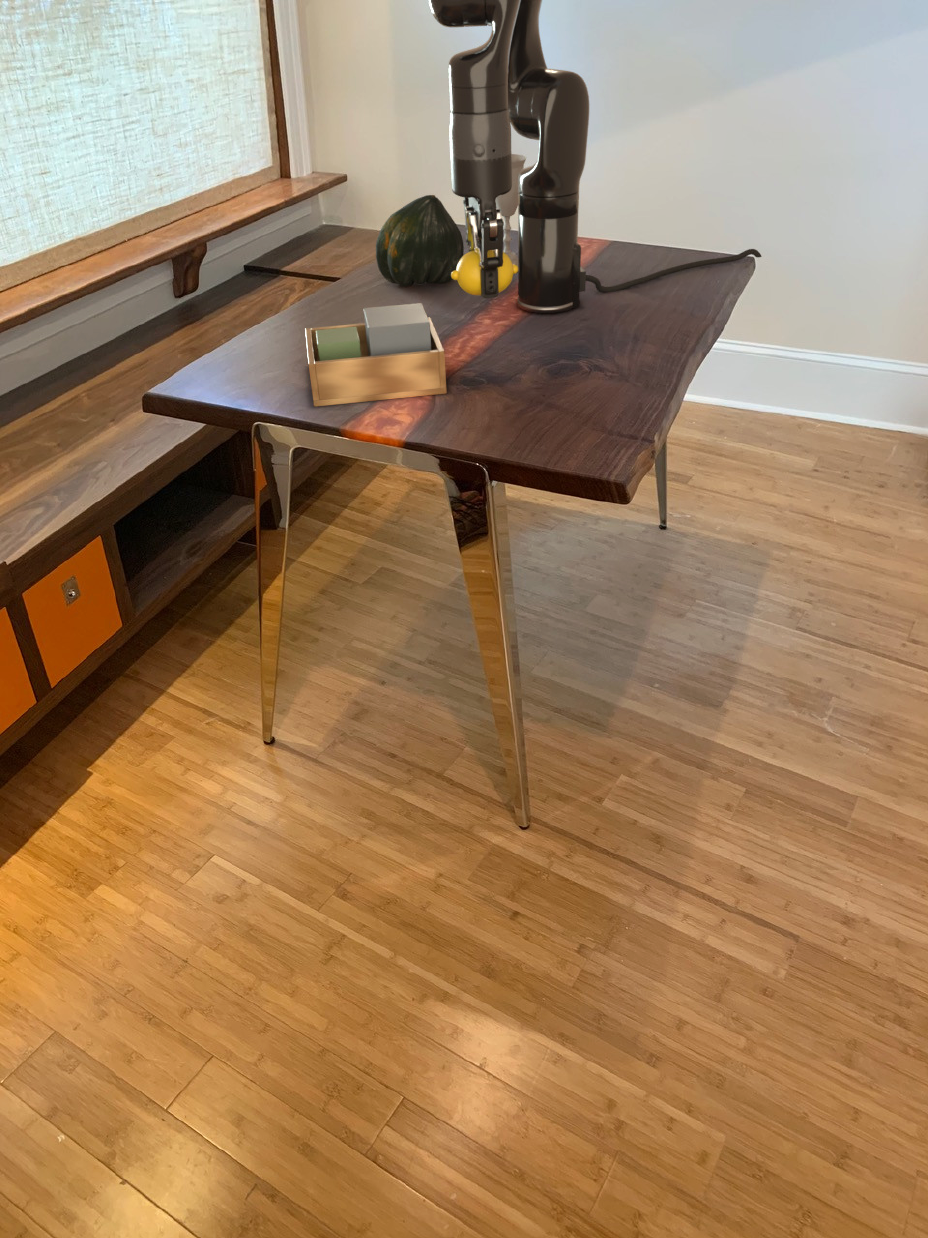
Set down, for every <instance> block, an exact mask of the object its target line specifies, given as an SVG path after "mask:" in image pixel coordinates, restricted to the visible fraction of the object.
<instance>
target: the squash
mask: <svg viewBox="0 0 928 1238" xmlns="http://www.w3.org/2000/svg"><path fill="white" fill-rule="evenodd" d="M464 249H465V248H464V238H463V235H462V232H461V230H460V229H459V227H458V225H457V223H456V222H455V220H454V218H453V217H452V216H451V214H450V213H449V212H448V210H447V209H446V208H445V206H444V204H443V202H442V201H441V200H440V199H439V198H438V197H437V196H436V195H435V194H427V195H422V196H421V197H418V198H415V199H413V200H412V201H410V202H408V203H407V204H405V205H404V206H402V207H401V208H399V209H397V210H396V211H395V212H393V213H392V214H391V215H389V217H388V218H387V220H386V221H385V222H384V224H383V225H382V227H381V228H380V231H379V234H378V235H377V239H376V242H375V258H376V264H377V265H376V266H377V268H378V271H379V272H380V274H381V276H382V277H383V278H384V279H385V280H386V281H388V282H389V283H391V284H395V285H399V286H401V287H409V286H410V287H411V286H412V285H413V284H416V285H417V286H418V285H419V286H421V285H424V284H435V285H443V284H447V283H450V282H451V281H452V280H453V279H452V277H451V273H452V272H453V271H454V270H456V268H457V265H458V262H459V261H460V259H461V258H462V257H463V256H464V255H465V254H464V252H465V251H464Z"/></svg>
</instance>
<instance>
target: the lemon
mask: <svg viewBox="0 0 928 1238" xmlns="http://www.w3.org/2000/svg"><path fill="white" fill-rule="evenodd" d="M489 257H494V254H493V250H489V251H488V252H487V258H489ZM517 273H518V266H517V265H515V264H512V261H511V260H510V258H509V257H508V255H507V254H505V253H504V252H503V266H502V267H499V268H498V288H499V293H502V292H503V291H504V290H507V288H508V287H509V286H510V285H511V283H512V281H513V277H514V275H516V274H517ZM451 277H452V280H453V281H457V283H458V285H459V287H460V288H461V289H462V290H463V291H464V292H465V293H466V294H469V295H471V296H482V295H481V279H480V267H479V255H478V251H476V250H474V251H470V252H469V251H468V252H466V253H465V254H463V257H462V258H461V259H460V261H459V262H458V265H457V268H456V270H454V271H453V272H452V273H451Z"/></svg>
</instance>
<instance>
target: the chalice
mask: <svg viewBox="0 0 928 1238" xmlns="http://www.w3.org/2000/svg"><path fill="white" fill-rule="evenodd" d="M511 158H512V188H511V190H510V191H509V192H508V193H506V194H504V195H499V196H498V197H497V198H496V201H495V202H496V208H497V209H500V212H501V217H502V218H503V222H504V226H503V245H504V247H503V252H504V253H505V254H507V255H508V257H509V258H510V260H511V261H512V264H515V265H517V266H518V254H516V252H512V250H511V247H510V245H511V242H512V237H511V235H510V233H511V230H512V226H511V223H510V221H511V220H510V219H511V217H512V216H514V215H515V214H516V211H517V210H518V177H519V173H520V172H521V171H522V170H523V169H524V168H525V166H524V165H525V162H526V160H527V157H526V156H525V155H523V154H516V153H511Z"/></svg>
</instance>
